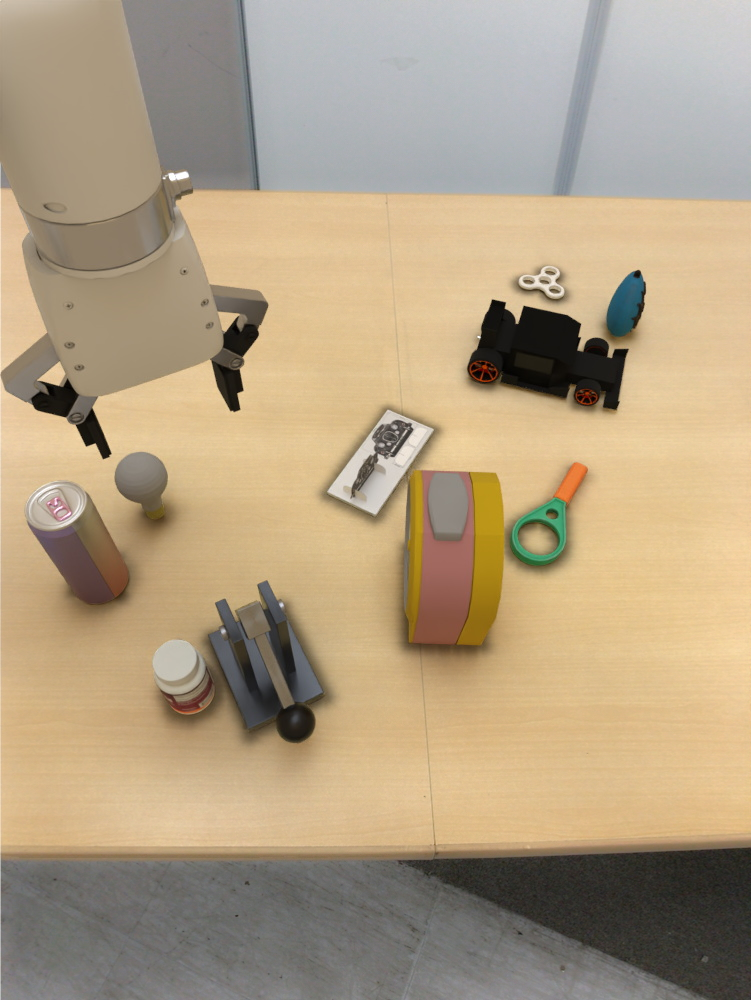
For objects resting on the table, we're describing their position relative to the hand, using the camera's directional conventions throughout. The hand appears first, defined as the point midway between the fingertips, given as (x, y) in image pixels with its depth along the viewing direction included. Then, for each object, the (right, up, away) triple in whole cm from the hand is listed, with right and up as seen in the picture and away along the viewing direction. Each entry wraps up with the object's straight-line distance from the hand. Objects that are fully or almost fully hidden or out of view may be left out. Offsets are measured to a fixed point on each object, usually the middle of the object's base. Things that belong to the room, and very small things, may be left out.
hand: (167, 421), depth 54 cm
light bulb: (-10, -8, +32) cm, 34 cm away
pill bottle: (-3, -25, +20) cm, 32 cm away
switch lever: (+6, -21, +14) cm, 26 cm away
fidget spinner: (+41, +26, +56) cm, 74 cm away
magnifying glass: (+36, -8, +33) cm, 49 cm away
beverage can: (-14, -15, +27) cm, 34 cm away
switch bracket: (+4, -23, +21) cm, 31 cm away
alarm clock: (+22, -16, +26) cm, 38 cm away
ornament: (+50, +18, +51) cm, 74 cm away
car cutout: (+16, -1, +37) cm, 40 cm away
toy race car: (+38, +12, +46) cm, 61 cm away
